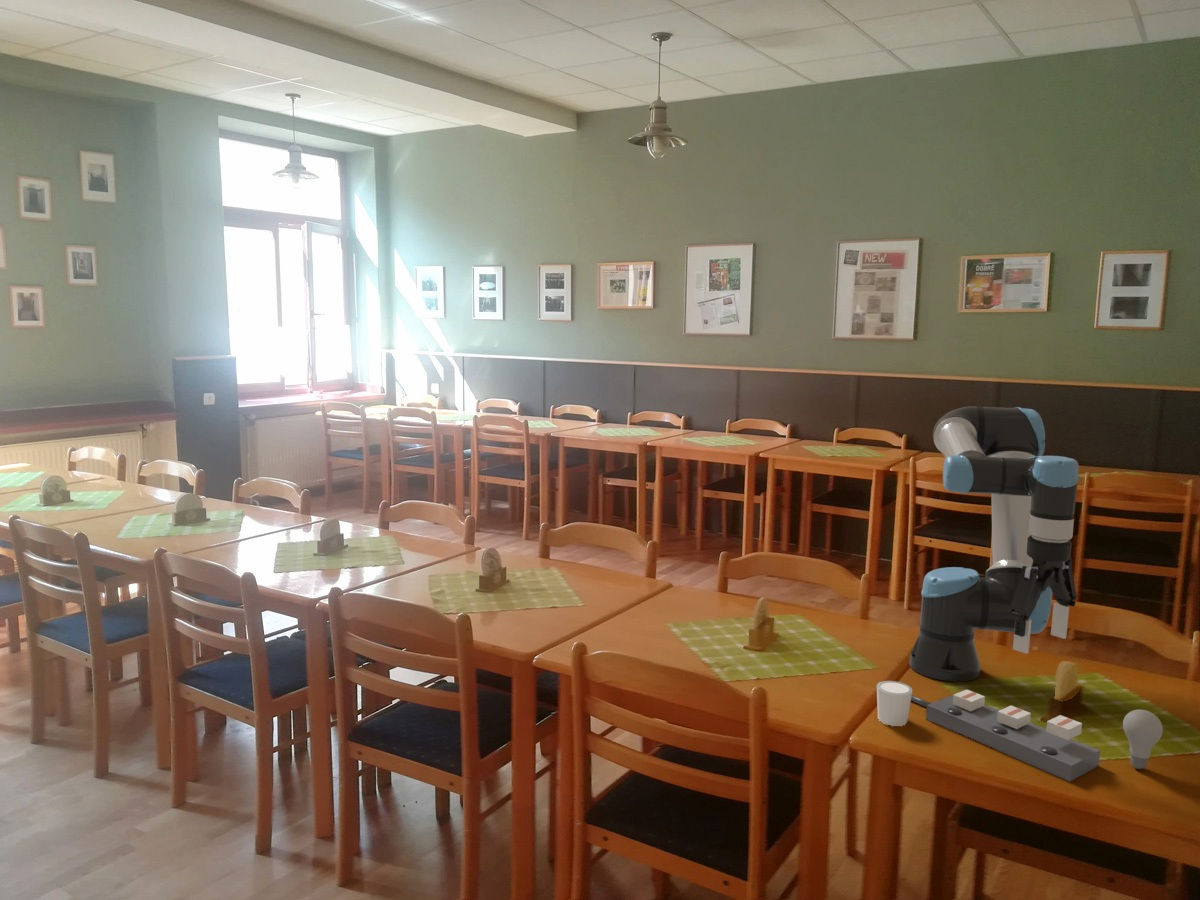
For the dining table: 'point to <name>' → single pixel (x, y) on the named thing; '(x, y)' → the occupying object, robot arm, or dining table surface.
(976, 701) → the cord end switch
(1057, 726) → the far end switch
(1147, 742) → the lightbulb
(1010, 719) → the middle switch
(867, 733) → the dining table surface
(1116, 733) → the dining table surface
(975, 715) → the power strip
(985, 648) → the dining table surface
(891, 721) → the white cup
